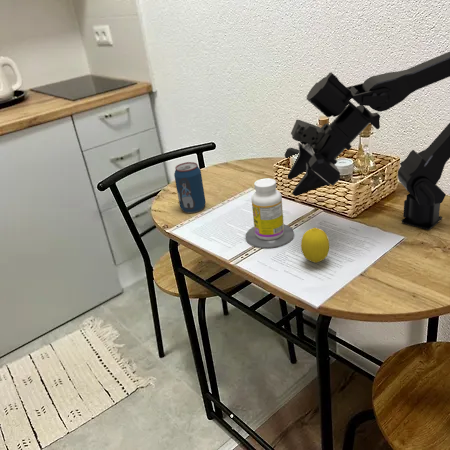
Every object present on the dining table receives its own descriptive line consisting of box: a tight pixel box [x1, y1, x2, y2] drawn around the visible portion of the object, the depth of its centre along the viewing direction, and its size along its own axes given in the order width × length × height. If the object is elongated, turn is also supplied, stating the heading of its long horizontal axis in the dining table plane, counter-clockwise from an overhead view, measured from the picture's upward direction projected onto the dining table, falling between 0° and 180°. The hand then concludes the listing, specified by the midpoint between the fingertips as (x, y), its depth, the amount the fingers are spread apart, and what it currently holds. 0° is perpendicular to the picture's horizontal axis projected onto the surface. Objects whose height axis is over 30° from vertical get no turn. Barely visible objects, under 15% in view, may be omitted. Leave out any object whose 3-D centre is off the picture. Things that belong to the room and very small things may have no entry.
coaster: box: [245, 224, 295, 249], centre depth 107 cm, size 11×11×1 cm
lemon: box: [300, 227, 330, 264], centre depth 94 cm, size 6×6×8 cm
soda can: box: [173, 161, 206, 214], centre depth 123 cm, size 7×7×12 cm
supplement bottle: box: [251, 177, 285, 240], centre depth 104 cm, size 7×7×13 cm
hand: (291, 186), depth 102 cm, fingers open, 9 cm apart
